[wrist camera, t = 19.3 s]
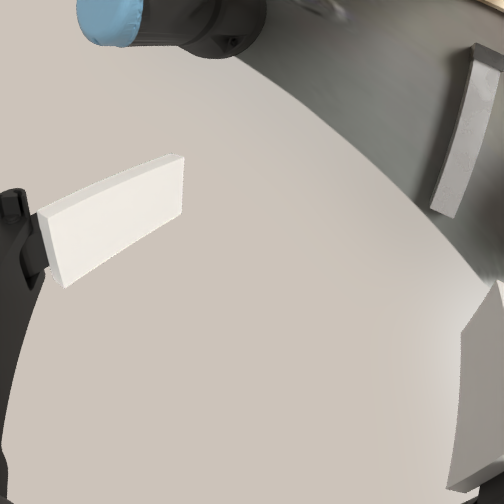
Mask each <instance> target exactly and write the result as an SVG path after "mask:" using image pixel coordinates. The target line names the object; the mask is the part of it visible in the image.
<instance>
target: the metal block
mask: <svg viewBox="0 0 504 504" xmlns="http://www.w3.org/2000/svg"><path fill="white" fill-rule="evenodd" d="M469 60H470V66H469V71H468V75H467V80H466V84H465V88H464V93H463V97H462V101H461V105H460V108H459V112H458V116H457V119H456V123H455V127H454V130H453V133H452V137H451V140H450V143H449V146H448V150H447V153H446V156H445V159H444V162H443V165H442V168H441V171H440V173H439V176H438V179H437V182H436V185H435V187H434V190H433V193H432V196H431V198H430V208H431V209H433V210H435V211H438V212H440V213H442V214H444V215H446V216H449V217H451V218H453V219H454V216H455V214H456V212H457V209H458V207H459V204H460V202H461V200H462V197H463V194H464V192H465V189H466V187H467V184H468V182H469V179H470V176H471V173H472V171H473V168H474V165H475V162H476V159H477V156H478V153H479V150H480V147H481V144H482V141H483V138H484V134H485V131H486V128H487V124H488V121H489V117H490V113H491V110H492V106H493V102H494V98H495V94H496V89H497V85H498V80H499V76H500V72H504V55H502V54H500V53H498V52H496V51H493V50H491V49H489V48H487V47H485V46H483V45H480V44H478V43H475V44H473V45H472V46H471V51H470V56H469Z"/></svg>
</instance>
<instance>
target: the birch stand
mask: <svg viewBox="0 0 504 504" xmlns="http://www.w3.org/2000/svg"><path fill="white" fill-rule="evenodd" d="M477 1H479V2H482V3H484V4H486V5H489V6H491V7H493V8H495V9H497V10H499V11H501V12H503V13H504V0H477Z"/></svg>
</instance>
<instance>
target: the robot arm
mask: <svg viewBox="0 0 504 504" xmlns="http://www.w3.org/2000/svg"><path fill="white" fill-rule="evenodd" d="M76 7H77V8H76V10H77V18H78V23H79V26H80V28H81V30H82V32H83V34H84V35H85V37H86V38H87V39H88V40H89V41H91V42H92V43H94V44H97V45H100V46H117V47H121V48H122V47H129V46H166V45H167V46H168V45H169V46H170V45H171V46H179V47H180V48H182V49H184V50H186V51H188V52H189V53H191V54H193V55H195V56H198V57H202V58H208V59H223V58H228V57H232V56H234V55H237V54H239V53H240V52H242V51H244V50H245V49H246V48H248V47H249V46H250V45H251V44H252V43H253V42H254V40H255V39H256V38H257V37H258V35H259V33H260V32H261V30H262V27H263V25H264V22H265V18H266V1H265V0H77V5H76ZM183 174H184V157H183V156H180V155H176V154H173V153H170V154H167V155H164V156H162V157H159V158H156V159H153V160H151V161H148V162H145V163H143V164H140V165H138V166H135V167H133V168H130V169H128V170H125V171H122V172H120V173H118V174H115V175H113V176H110V177H108V178H106V179H103V180H101V181H99V182H96V183H94V184H92V185H89V186H87V187H85V188H83V189H80V190H78V191H76V192H74V193H72V194H70V195H68V196H66V197H63V198H61V199H59V200H57V201H55V202H53V203H51V204H49V205H47V206H45V207H43V208H41V209H39V210H37V213H35V214H33V215H30V212H29V207H28V202H27V197H26V192H25V190H23V189H21V188H15V189H9V190H7V191H4V192H2V193H0V504H13V503H12V502H11V501H9V500H7V482H8V467H7V462H6V459H5V457H4V454H3V452H2V448H1V441H2V434H3V427H4V420H5V415H6V410H7V405H8V400H9V395H10V390H11V386H12V381H13V377H14V373H15V369H16V365H17V361H18V357H19V354H20V350H21V347H22V344H23V340H24V337H25V334H26V330H27V327H28V324H29V321H30V318H31V315H32V312H33V309H34V306H35V304H36V301H37V298H38V295H39V293H40V290H41V287H42V285H43V282H44V279H45V272H44V269H45V268H46V267H48V266H50V270H51V273H52V277H53V279H54V280H55V281H56V282H57V283H58V284H59V285H61V286H62V287H63V288H64V289H65V288H66V287H68V286H69V285H71V284H72V283H74V282H75V281H77V280H78V279H79V278H81V277H82V276H84V275H85V274H87V273H88V272H90V271H91V270H93V269H94V268H96V267H97V266H99V265H100V264H102V263H103V262H105V261H106V260H108V259H109V258H111V257H112V256H114V255H115V254H117V253H119V252H120V251H122V250H123V249H125V248H126V247H128V246H130V245H131V244H133V243H134V242H136V241H137V240H139V239H141V238H142V237H144V236H146V235H147V234H149V233H150V232H152V231H154V230H155V229H157V228H159V227H160V226H162V225H163V224H165V223H167V222H168V221H170V220H172V219H173V218H175V217H177V216H178V215H180V214H181V213H182V193H183ZM460 373H461V374H460V393H459V406H458V416H457V425H456V433H455V441H454V448H453V454H452V460H451V466H450V472H449V476H448V482H447V486H446V489H449V490H453V491H457V492H462V493H467V492H469V491H471V490H473V489H475V488H477V487H479V486H480V489H479V495H478V496H477V497H475V498H473V499H471V500H468V501H466V502H464V503H462V504H504V283H503V282H501V281H499V280H496V281H495V283H494V285H493V286H492V288H491V289H490V291H489V293H488V294H487V296H486V297H485V299H484V300H483V302H482V304H481V305H480V306H479V308H478V309H477V311H476V312H475V314H474V315H473V317H472V318H471V320H470V321H469V323H468V324H467V325H466V327H465V328H464V330H463V331H462V332H461V372H460Z"/></svg>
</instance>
